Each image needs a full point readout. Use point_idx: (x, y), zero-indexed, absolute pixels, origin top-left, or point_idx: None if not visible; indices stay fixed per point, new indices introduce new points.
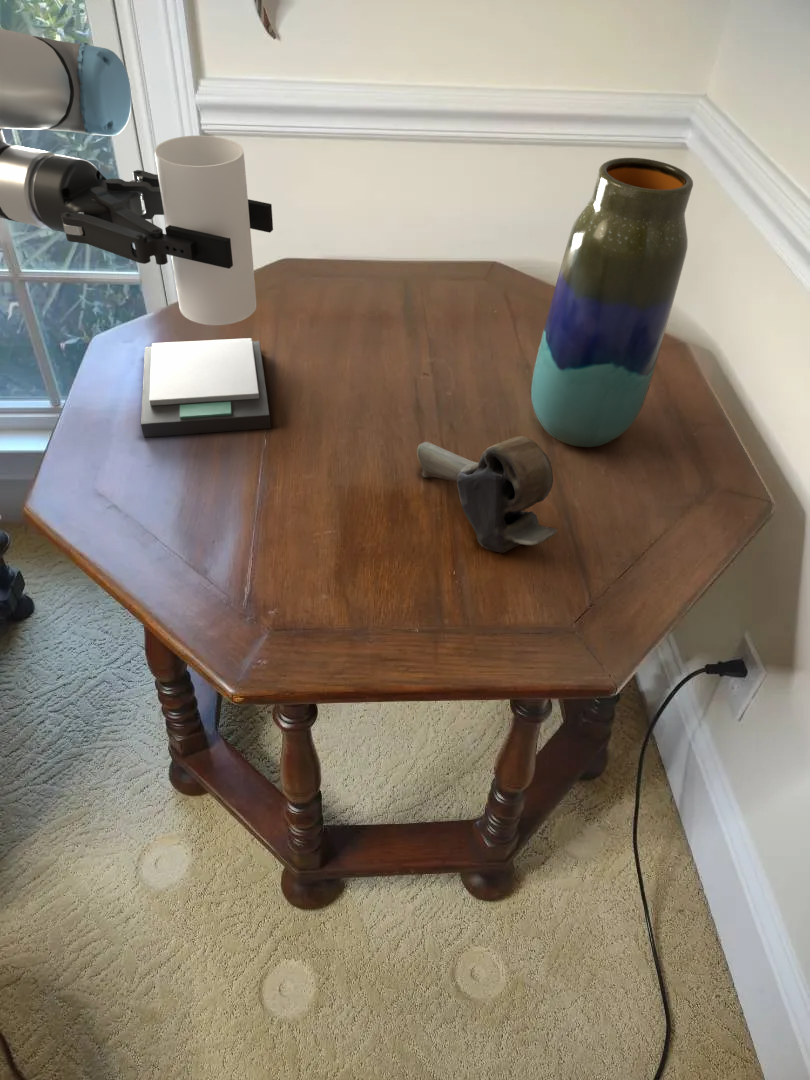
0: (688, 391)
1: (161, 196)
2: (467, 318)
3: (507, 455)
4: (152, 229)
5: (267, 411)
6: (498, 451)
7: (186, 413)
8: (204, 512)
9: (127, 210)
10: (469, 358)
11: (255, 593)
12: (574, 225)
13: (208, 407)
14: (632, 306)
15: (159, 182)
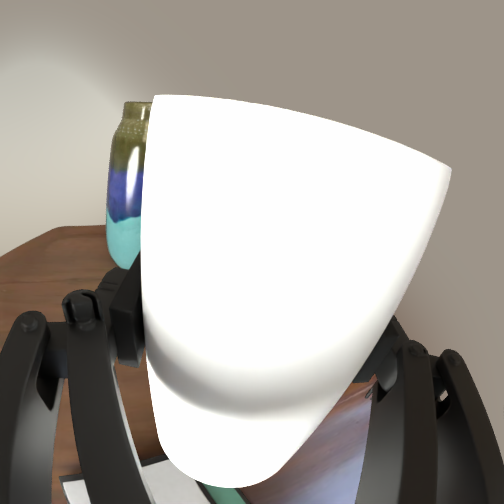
0: (102, 228)
1: (388, 320)
2: (8, 306)
3: None
4: (420, 357)
5: None
6: None
7: None
8: (338, 444)
9: (406, 490)
10: (61, 307)
11: (370, 381)
12: (142, 140)
13: (224, 499)
14: None
15: (415, 269)
